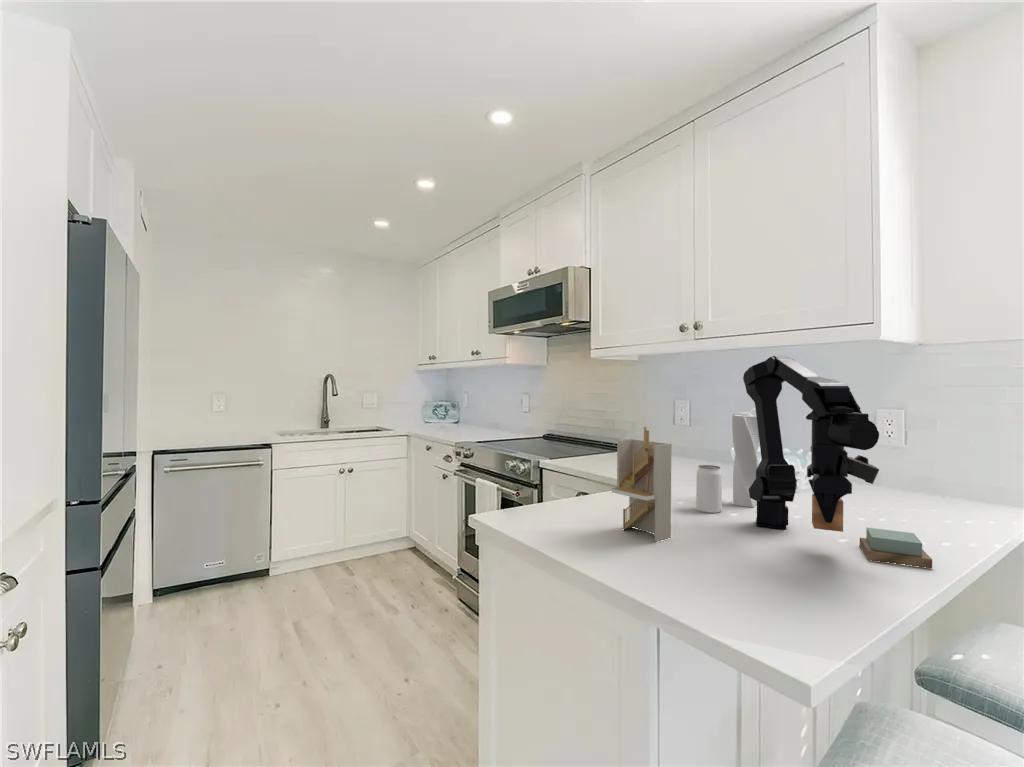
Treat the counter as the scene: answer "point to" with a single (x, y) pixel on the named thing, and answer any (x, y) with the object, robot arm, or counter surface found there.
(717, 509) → the can
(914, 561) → the tower base
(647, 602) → the counter surface
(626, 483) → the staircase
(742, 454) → the skyscraper
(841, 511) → the block
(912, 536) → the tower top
